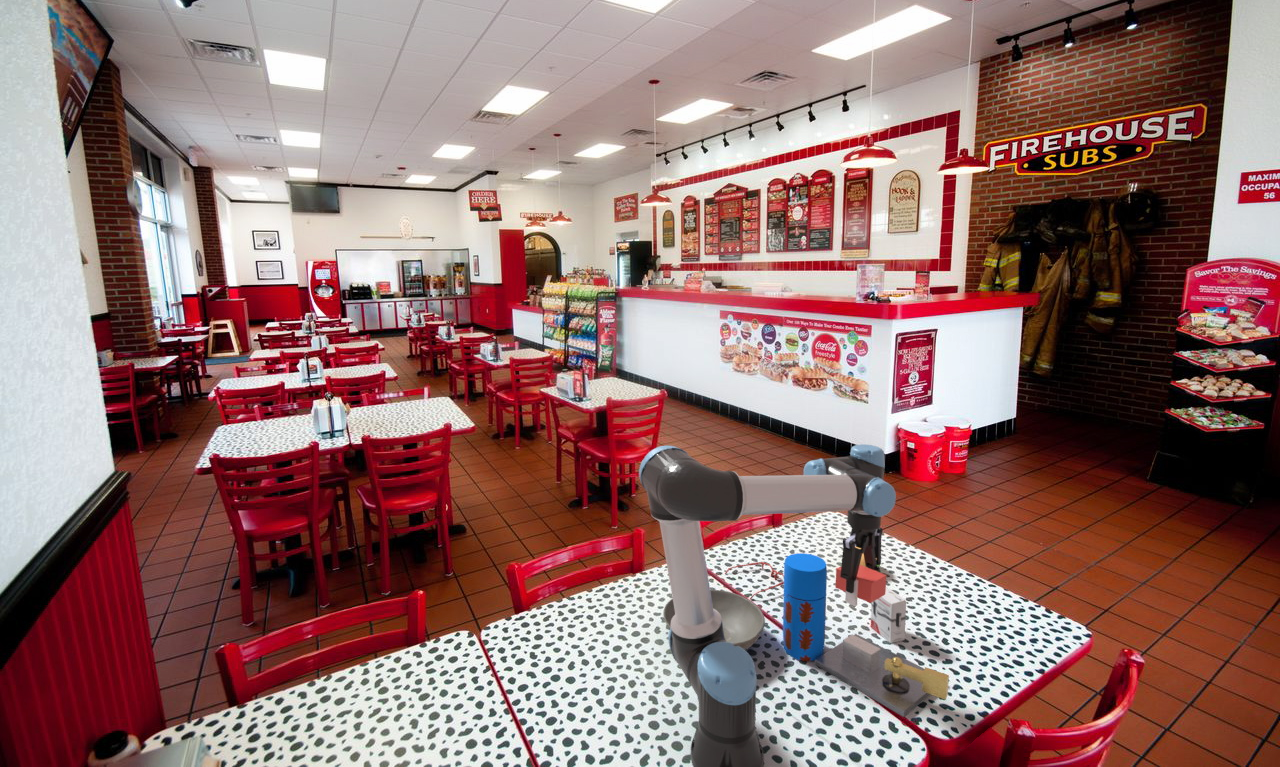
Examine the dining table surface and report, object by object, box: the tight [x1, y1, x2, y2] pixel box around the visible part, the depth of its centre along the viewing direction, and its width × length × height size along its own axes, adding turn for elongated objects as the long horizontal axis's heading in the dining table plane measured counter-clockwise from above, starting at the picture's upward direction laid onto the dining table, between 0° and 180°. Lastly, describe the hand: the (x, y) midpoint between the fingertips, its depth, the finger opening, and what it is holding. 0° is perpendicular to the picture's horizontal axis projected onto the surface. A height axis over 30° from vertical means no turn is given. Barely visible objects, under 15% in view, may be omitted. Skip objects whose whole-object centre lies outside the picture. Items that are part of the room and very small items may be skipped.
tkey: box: [885, 657, 950, 700], centre depth 138 cm, size 14×2×6 cm, turn 52°
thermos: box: [782, 552, 828, 662], centre depth 156 cm, size 11×11×25 cm
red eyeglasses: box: [724, 561, 784, 600], centre depth 191 cm, size 17×16×5 cm
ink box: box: [870, 586, 907, 644], centre depth 164 cm, size 8×5×12 cm, turn 17°
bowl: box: [662, 589, 766, 651], centre depth 162 cm, size 27×28×8 cm
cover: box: [834, 565, 887, 604], centre depth 144 cm, size 6×10×5 cm
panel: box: [814, 633, 931, 718], centre depth 147 cm, size 18×24×6 cm
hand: (859, 598), depth 145 cm, fingers closed on cover, 6 cm apart
